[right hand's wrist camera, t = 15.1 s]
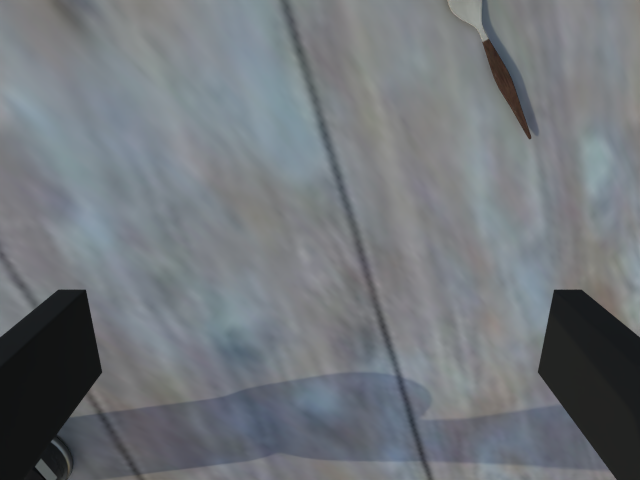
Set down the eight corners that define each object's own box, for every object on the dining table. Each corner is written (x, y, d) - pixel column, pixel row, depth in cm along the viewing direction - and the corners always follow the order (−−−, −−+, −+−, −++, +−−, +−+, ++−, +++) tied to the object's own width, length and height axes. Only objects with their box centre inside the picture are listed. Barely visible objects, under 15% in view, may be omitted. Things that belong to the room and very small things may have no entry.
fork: (513, 146, 39) (523, 149, 37) (430, -33, 35) (436, -39, 33) (541, 130, 39) (553, 132, 37) (461, -53, 34) (469, -61, 32)
